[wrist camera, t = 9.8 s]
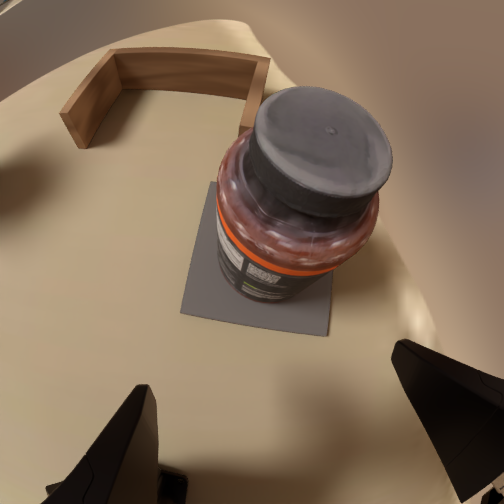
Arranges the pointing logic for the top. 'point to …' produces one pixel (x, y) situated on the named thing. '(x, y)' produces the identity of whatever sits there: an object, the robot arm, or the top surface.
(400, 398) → the top surface
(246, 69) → the crate
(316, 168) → the supplement bottle
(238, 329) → the top surface
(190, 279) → the mat
